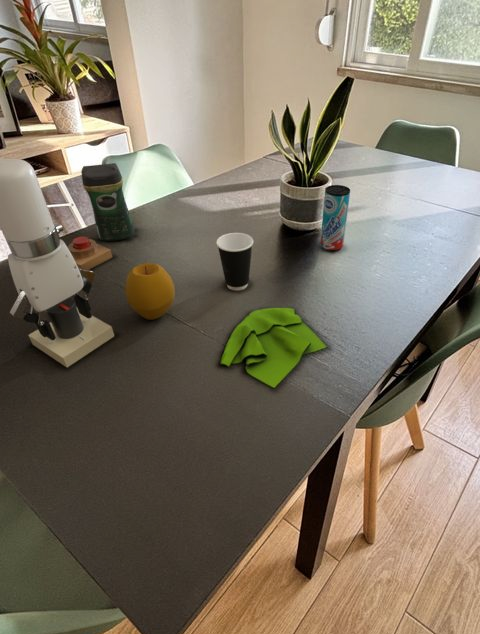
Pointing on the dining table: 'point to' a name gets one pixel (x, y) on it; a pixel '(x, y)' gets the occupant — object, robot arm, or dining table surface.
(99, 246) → the button block
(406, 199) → the dining table surface
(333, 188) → the beverage can
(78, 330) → the knob
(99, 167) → the coffee jar
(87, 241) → the button
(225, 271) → the dixie cup
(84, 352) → the panel
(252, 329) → the cloth
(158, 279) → the apple
